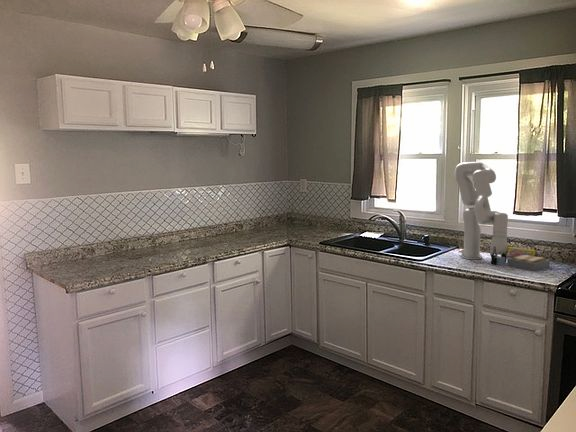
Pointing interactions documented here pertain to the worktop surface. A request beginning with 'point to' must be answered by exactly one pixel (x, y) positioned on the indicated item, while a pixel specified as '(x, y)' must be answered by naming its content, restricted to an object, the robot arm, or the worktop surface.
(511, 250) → the candy box
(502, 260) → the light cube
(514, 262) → the tote
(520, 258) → the maple block
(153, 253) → the worktop surface
